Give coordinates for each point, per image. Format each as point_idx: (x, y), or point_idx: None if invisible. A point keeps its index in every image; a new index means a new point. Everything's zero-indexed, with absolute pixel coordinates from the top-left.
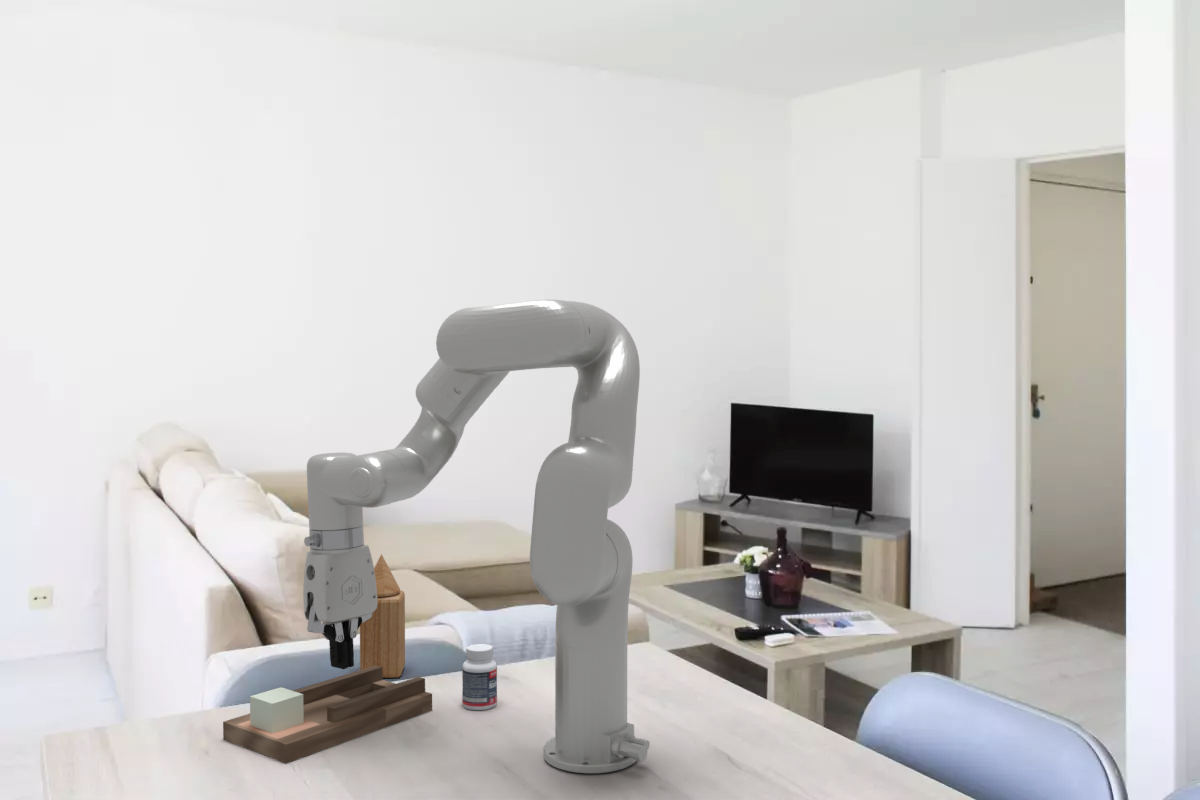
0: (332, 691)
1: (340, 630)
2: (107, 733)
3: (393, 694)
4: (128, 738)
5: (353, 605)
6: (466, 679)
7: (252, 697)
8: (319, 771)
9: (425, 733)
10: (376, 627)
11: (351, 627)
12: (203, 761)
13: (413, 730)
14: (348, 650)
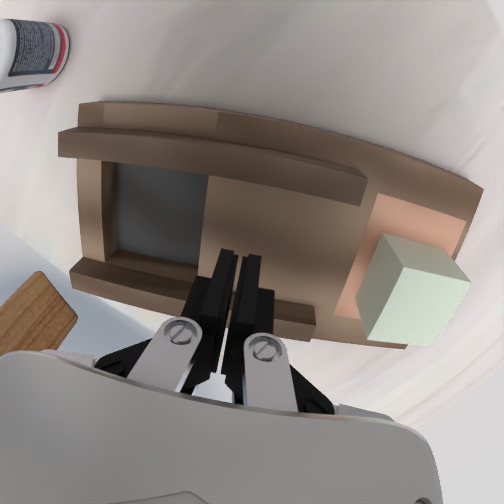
0: None
1: (262, 378)
2: (395, 417)
3: (158, 135)
4: (406, 400)
5: (181, 486)
6: (28, 51)
7: (436, 339)
8: (473, 102)
9: (216, 15)
10: None
11: (183, 364)
12: (470, 294)
13: (213, 46)
14: (229, 292)
